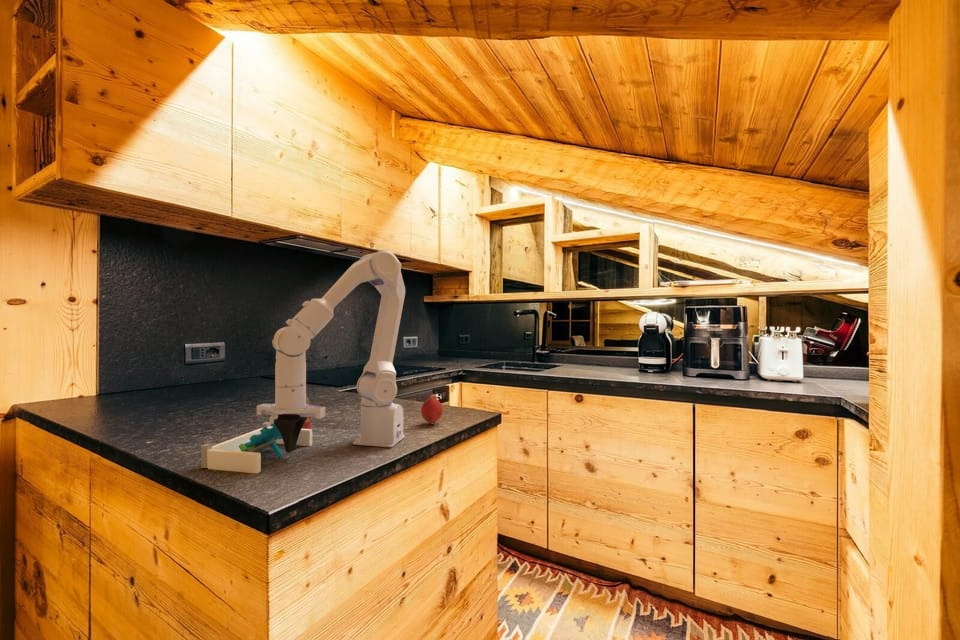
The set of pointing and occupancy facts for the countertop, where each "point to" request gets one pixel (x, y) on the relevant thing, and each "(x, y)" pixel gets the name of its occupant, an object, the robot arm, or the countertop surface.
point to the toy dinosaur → (263, 441)
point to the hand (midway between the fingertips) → (290, 451)
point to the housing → (241, 452)
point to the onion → (432, 409)
